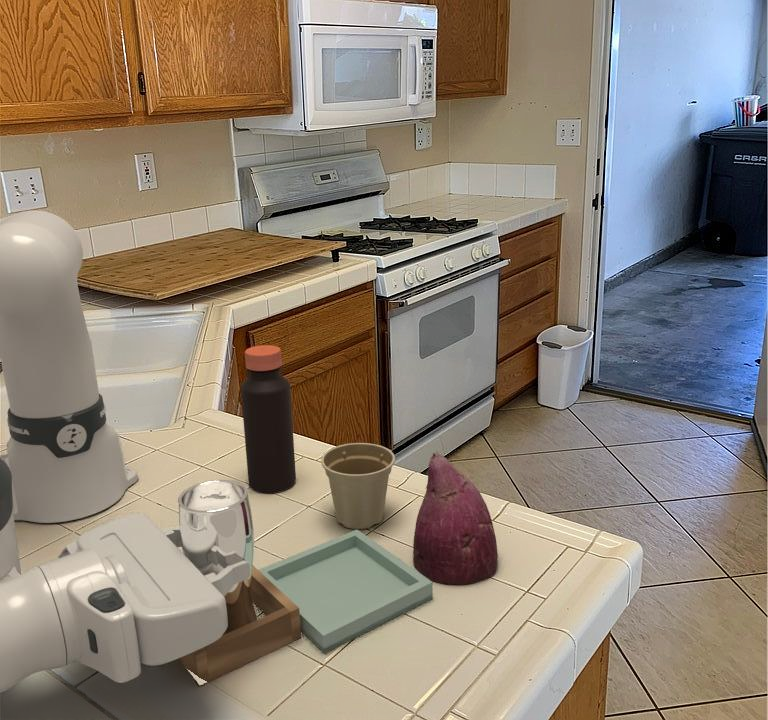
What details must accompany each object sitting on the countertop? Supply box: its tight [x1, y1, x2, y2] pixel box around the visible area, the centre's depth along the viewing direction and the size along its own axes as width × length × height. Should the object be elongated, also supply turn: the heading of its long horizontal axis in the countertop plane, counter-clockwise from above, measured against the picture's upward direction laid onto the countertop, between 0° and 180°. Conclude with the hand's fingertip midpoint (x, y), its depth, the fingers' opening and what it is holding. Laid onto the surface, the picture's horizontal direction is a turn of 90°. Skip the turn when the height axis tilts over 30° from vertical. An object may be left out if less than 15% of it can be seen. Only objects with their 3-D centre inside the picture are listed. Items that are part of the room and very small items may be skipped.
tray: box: [258, 529, 434, 655], centre depth 83 cm, size 14×14×2 cm
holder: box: [177, 565, 302, 683], centre depth 77 cm, size 11×11×4 cm
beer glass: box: [177, 479, 259, 636], centre depth 75 cm, size 7×7×15 cm
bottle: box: [240, 344, 297, 494], centre depth 105 cm, size 7×7×20 cm
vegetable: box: [412, 449, 499, 586], centre depth 87 cm, size 10×10×15 cm
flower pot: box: [320, 442, 396, 530], centre depth 97 cm, size 9×9×9 cm
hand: (227, 548), depth 75 cm, fingers closed on beer glass, 7 cm apart
